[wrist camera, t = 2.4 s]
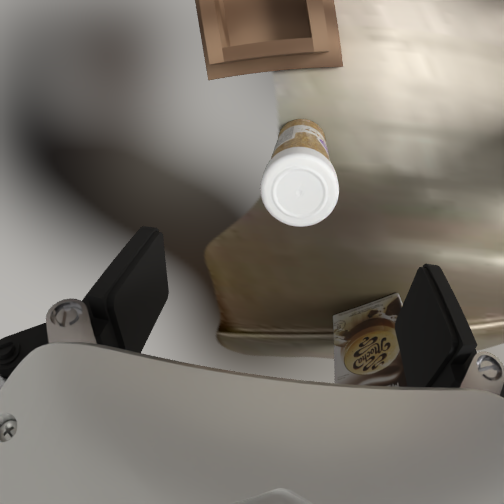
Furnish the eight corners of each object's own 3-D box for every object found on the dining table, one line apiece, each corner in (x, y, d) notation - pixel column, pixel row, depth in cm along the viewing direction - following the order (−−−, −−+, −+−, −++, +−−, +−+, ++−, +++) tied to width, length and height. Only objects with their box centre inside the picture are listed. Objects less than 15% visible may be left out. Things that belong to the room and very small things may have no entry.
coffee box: (397, 290, 36) (426, 402, 23) (408, 323, 39) (432, 428, 26) (330, 314, 40) (332, 428, 27) (347, 344, 43) (351, 449, 29)
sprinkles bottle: (335, 143, 29) (356, 198, 17) (300, 172, 31) (297, 243, 20) (302, 107, 27) (301, 137, 16) (267, 139, 30) (242, 190, 18)
